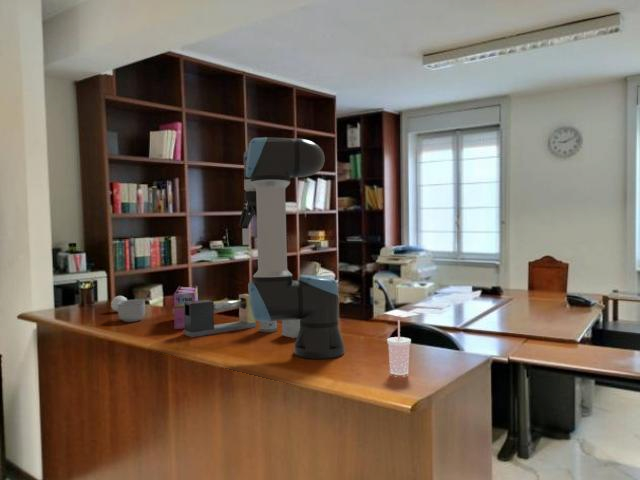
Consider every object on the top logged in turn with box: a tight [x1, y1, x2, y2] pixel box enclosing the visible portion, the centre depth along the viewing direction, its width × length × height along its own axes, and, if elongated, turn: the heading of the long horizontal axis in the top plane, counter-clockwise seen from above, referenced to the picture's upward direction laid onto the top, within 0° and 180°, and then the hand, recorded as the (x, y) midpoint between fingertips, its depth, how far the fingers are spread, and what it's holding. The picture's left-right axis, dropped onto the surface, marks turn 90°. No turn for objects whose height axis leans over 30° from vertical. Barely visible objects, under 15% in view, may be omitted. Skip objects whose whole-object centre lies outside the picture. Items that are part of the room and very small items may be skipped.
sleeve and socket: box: [184, 293, 256, 332], centre depth 189 cm, size 26×6×10 cm, turn 129°
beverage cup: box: [386, 319, 412, 375], centre depth 133 cm, size 6×6×14 cm
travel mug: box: [259, 321, 278, 334], centre depth 187 cm, size 6×7×20 cm
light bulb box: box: [281, 319, 300, 339], centre depth 181 cm, size 11×7×11 cm, turn 134°
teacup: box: [117, 298, 146, 323], centre depth 212 cm, size 14×11×8 cm
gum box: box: [173, 285, 199, 330], centre depth 205 cm, size 24×8×14 cm, turn 10°
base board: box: [183, 321, 257, 338], centre depth 189 cm, size 26×7×2 cm, turn 129°
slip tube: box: [214, 299, 246, 312], centre depth 191 cm, size 17×3×3 cm, turn 129°
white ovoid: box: [110, 295, 128, 313], centre depth 230 cm, size 10×7×7 cm
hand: (255, 245), depth 201 cm, fingers open, 13 cm apart
